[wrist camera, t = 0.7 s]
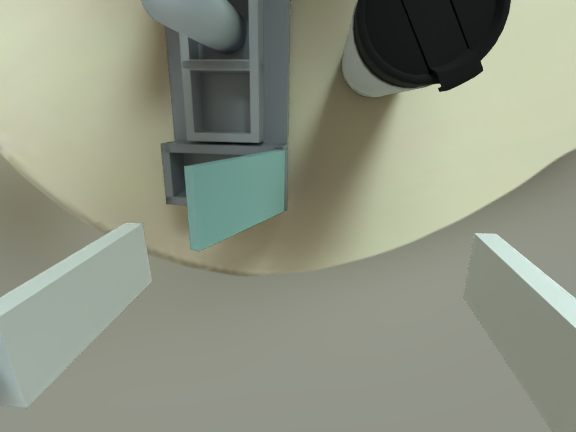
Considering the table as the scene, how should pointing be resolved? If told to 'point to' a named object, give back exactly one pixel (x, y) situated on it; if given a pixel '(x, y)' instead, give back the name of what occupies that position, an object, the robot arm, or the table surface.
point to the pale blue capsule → (202, 21)
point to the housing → (228, 94)
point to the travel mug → (419, 43)
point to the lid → (234, 195)
